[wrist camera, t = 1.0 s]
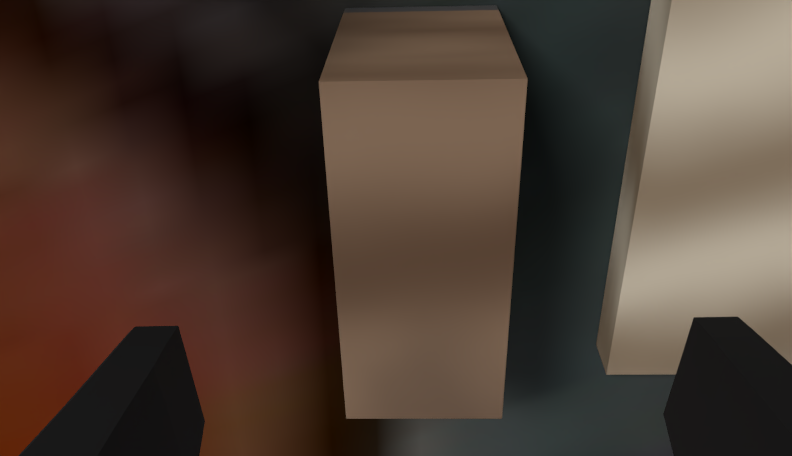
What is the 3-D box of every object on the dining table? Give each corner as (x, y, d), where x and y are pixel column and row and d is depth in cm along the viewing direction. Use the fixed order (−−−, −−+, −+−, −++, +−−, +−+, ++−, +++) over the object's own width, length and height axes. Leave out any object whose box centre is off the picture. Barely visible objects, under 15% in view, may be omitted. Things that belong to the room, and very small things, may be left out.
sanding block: (482, 283, 23) (501, 418, 18) (361, 283, 23) (346, 418, 18) (496, 4, 18) (528, 78, 13) (345, 7, 19) (318, 81, 13)
